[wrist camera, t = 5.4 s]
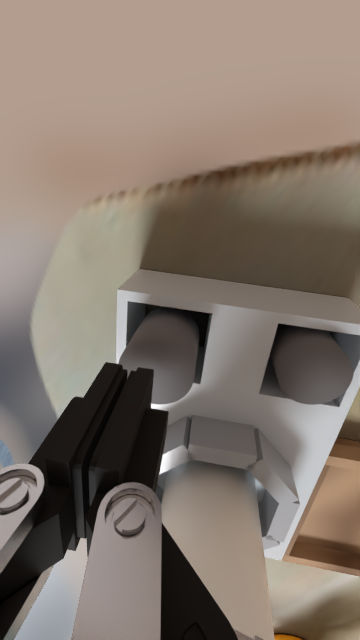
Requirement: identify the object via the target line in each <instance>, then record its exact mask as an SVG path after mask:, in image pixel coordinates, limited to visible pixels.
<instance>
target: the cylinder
mask: <svg viewBox="0 0 360 640" xmlns="http://www.w3.org/2000/svg"><path fill="white" fill-rule="evenodd" d="M274 638H275V640H303V639H300V638H298V637H295V636H290V635H280V634H278V635H274Z"/></svg>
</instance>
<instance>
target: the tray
mask: <svg viewBox="0 0 360 640" xmlns="http://www.w3.org/2000/svg"><path fill="white" fill-rule="evenodd" d="M282 561H287V562H292V563H296V564H301V565H306V566H311V567H316V568H321V569H326V570H331V571H336V572H341V573H346V574H350V575H355V576H360V441H354V440H348V439H342V438H336V440H335V442H334V445H333V447H332V449H331V451H330V454H329V456H328V458H327V460H326V462H325V465H324V467H323V469H322V471H321V474H320V476H319V478H318V480H317V483H316V485H315V487H314V489H313V491H312V494H311V496H310V498H309V500H308V503H307V505H306V507H305V509H304V511H303V514H302V516H301V518H300V520H299V523H298V525H297V527H296V529H295V531H294V534H293V536H292V538H291V540H290V543H289V545H288V547H287V549H286V551H285V554H284V556H283V558H282Z"/></svg>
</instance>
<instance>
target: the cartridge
mask: <svg viewBox="0 0 360 640" xmlns="http://www.w3.org/2000/svg"><path fill="white" fill-rule="evenodd" d="M161 510H162V523H163V525H164V526H165V528H166V529H167V531H168V532H169V533H170V535H171V536H172V538H173V539H174V541H175V542H176V544H177V545H178V547H179V548H180V550H181V551H182V553H183V554H184V556H185V557H186V559H187V560H188V561H189V563H190V564H191V566H192V567H193V569H194V570H195V572H196V573H197V575H198V576H199V578H200V579H201V581H202V582H203V584H204V585H205V586H206V588H207V589H208V591H209V592H210V594H211V595H212V597H213V598H214V600H215V601H216V603H217V604H218V606H219V607H220V609H221V610H222V612H223V613H224V614H225V616H226V617H227V619H228V620H229V622H230V624H231V626H232V628H233V629H235V630H237V631H239V632H241V633H243V634H245V635H247V636H249V637H250V638H252V639H253V638H254V636H255V635H256V636H258V637H260V638H262V639H263V640H275V638H274V630H273V622H272V614H271V606H270V598H269V590H268V581H267V573H266V565H265V557H264V549H263V541H262V533H261V525H260V517H259V509H258V501H257V493H256V485H255V477H254V476H253V475H252V473H251V472H250V471H249V470H246V469H241V468H236V467H230V466H225V465H219V464H214V463H208V462H203V461H197V460H192V459H191V460H189V461H187V462H185V463H183V464H181V465H178V466H176V467H174V468H172V469H170V470H168V471H167V477H166V482H165V488H164V493H163V498H162V504H161Z"/></svg>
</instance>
